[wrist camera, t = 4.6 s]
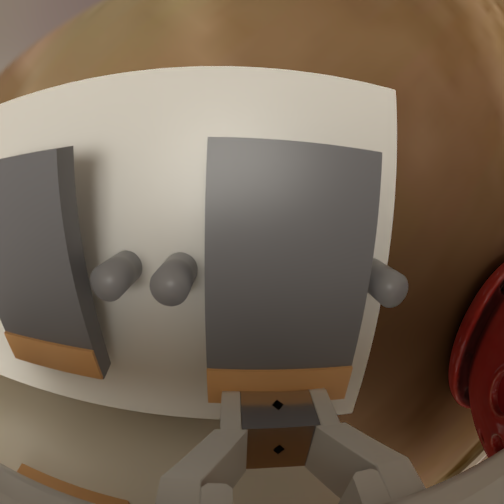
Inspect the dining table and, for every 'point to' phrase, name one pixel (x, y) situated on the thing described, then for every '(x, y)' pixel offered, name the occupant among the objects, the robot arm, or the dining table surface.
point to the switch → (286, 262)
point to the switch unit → (168, 267)
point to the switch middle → (46, 267)
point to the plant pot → (482, 363)
